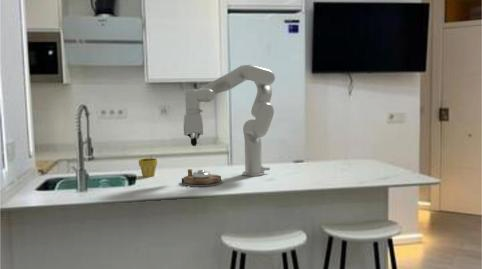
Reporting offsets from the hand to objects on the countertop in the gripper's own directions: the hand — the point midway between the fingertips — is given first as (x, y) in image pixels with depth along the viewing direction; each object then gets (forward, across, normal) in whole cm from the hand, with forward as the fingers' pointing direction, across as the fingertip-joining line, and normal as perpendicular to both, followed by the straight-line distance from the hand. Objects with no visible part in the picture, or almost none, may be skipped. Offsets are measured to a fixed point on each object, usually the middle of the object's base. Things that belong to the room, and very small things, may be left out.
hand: (194, 145), depth 267 cm
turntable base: (+19, -2, +9) cm, 21 cm away
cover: (+16, -1, +10) cm, 19 cm away
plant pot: (+19, +23, -22) cm, 37 cm away
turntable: (+18, -2, +9) cm, 20 cm away
